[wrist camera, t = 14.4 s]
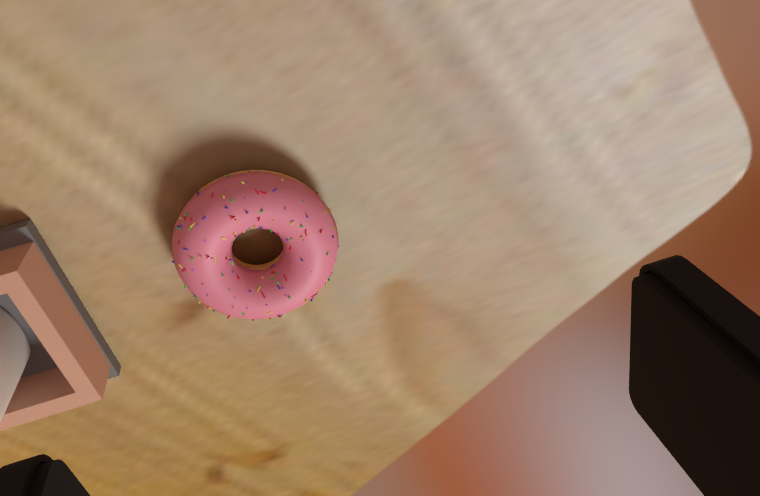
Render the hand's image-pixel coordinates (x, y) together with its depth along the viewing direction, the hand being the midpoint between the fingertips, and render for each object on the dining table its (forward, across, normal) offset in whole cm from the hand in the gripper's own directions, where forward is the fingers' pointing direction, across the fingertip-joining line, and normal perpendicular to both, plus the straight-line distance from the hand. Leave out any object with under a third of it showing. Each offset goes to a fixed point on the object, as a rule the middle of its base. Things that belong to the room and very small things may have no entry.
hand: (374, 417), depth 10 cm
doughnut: (+31, +5, +12) cm, 33 cm away
